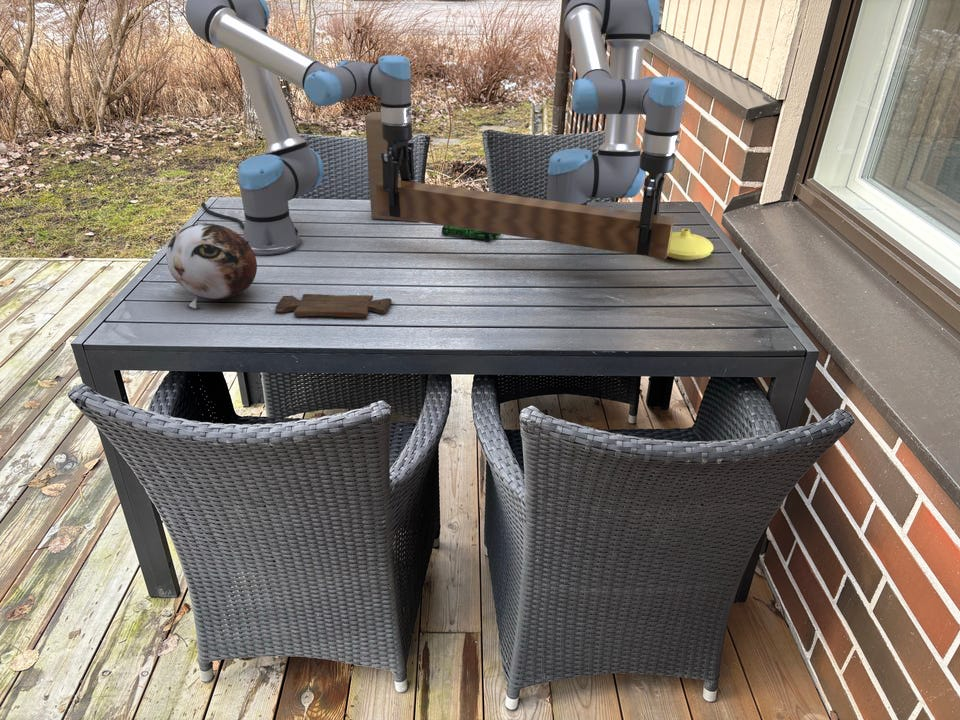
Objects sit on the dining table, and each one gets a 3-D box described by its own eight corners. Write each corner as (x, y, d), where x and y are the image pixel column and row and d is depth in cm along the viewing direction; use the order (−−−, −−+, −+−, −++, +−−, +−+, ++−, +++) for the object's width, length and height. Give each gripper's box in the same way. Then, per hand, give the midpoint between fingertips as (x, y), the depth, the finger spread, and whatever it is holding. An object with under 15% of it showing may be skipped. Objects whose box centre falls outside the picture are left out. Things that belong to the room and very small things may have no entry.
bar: (377, 215, 190) (375, 184, 186) (387, 208, 195) (385, 178, 190) (666, 259, 167) (671, 225, 163) (669, 250, 172) (674, 217, 168)
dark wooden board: (386, 320, 160) (392, 301, 168) (386, 314, 159) (392, 294, 168) (271, 316, 160) (283, 297, 169) (270, 309, 159) (282, 290, 168)
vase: (666, 239, 204) (669, 216, 201) (720, 252, 197) (724, 228, 193) (642, 256, 193) (646, 231, 190) (698, 270, 185) (703, 245, 182)
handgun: (511, 219, 210) (493, 234, 198) (511, 228, 211) (492, 244, 199) (461, 212, 215) (440, 226, 203) (461, 221, 217) (440, 236, 204)
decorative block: (419, 222, 214) (416, 119, 199) (370, 219, 216) (364, 116, 200) (424, 214, 220) (422, 113, 205) (377, 211, 222) (371, 111, 207)
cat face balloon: (130, 285, 161) (164, 203, 163) (192, 308, 177) (221, 233, 178) (195, 307, 151) (229, 220, 152) (254, 330, 166) (285, 250, 168)
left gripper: (392, 132, 170) (396, 225, 182) (426, 117, 185) (428, 203, 197) (364, 129, 172) (370, 221, 184) (400, 114, 187) (403, 200, 199)
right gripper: (669, 165, 150) (653, 266, 162) (681, 143, 165) (666, 238, 177) (633, 160, 153) (621, 261, 165) (649, 140, 168) (636, 233, 180)
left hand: (400, 212), depth 190 cm, fingers closed on bar, 6 cm apart
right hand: (644, 249), depth 171 cm, fingers closed on bar, 6 cm apart
